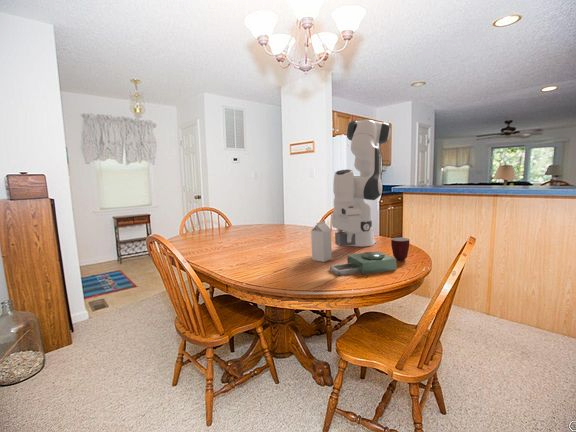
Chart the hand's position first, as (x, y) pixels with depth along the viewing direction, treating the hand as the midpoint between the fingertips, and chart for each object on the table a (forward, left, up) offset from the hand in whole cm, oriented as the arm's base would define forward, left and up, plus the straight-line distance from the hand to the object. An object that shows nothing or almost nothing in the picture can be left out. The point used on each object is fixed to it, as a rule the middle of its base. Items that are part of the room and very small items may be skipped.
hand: (345, 240), depth 129 cm
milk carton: (-21, -3, -14) cm, 25 cm away
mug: (-4, +30, -14) cm, 34 cm away
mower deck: (0, +7, -14) cm, 15 cm away
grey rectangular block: (0, 0, -2) cm, 2 cm away
